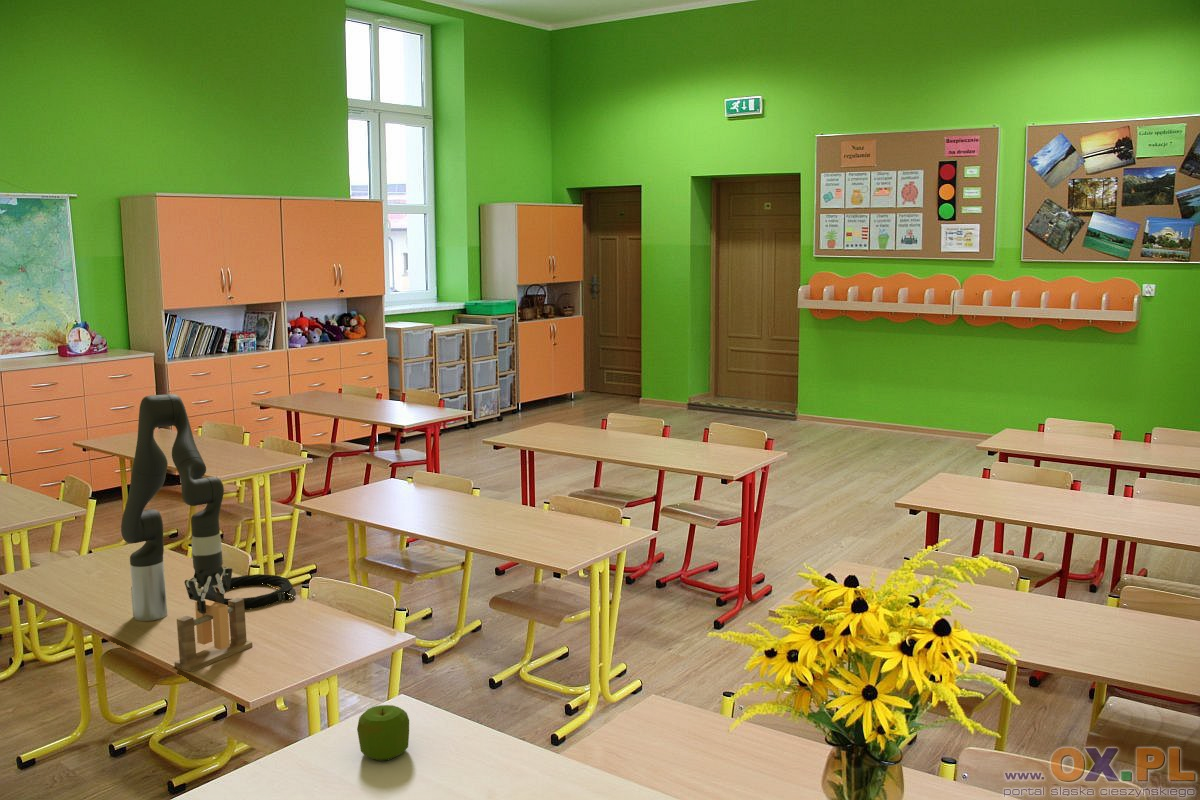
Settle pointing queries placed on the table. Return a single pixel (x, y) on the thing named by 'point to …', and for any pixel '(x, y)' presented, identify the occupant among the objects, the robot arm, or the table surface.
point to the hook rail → (210, 655)
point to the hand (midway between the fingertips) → (211, 609)
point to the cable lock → (258, 579)
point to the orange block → (214, 625)
